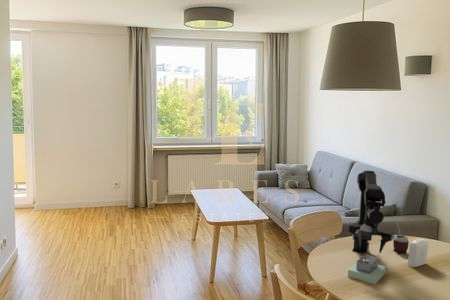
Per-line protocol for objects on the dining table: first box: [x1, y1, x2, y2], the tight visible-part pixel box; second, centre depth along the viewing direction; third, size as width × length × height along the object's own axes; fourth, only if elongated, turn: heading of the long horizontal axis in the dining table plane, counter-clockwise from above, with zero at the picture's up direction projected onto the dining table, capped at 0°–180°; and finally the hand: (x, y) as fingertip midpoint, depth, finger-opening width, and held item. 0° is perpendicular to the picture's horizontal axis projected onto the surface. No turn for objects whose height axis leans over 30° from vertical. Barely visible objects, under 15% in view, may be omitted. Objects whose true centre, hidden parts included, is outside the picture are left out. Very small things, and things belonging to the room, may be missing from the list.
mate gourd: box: [392, 219, 410, 255], centre depth 220 cm, size 8×8×15 cm
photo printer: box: [407, 238, 429, 268], centre depth 205 cm, size 10×4×12 cm, turn 123°
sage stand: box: [347, 261, 387, 285], centre depth 194 cm, size 12×14×3 cm
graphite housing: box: [356, 253, 380, 274], centre depth 193 cm, size 10×6×5 cm, turn 141°
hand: (369, 250), depth 193 cm, fingers open, 9 cm apart
